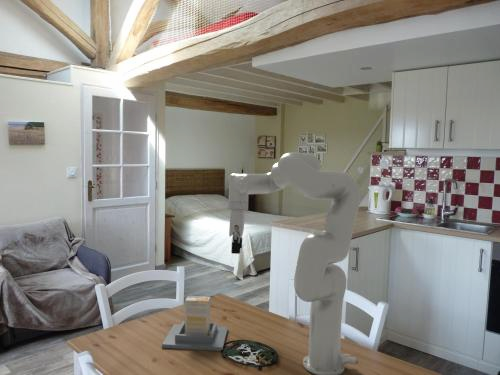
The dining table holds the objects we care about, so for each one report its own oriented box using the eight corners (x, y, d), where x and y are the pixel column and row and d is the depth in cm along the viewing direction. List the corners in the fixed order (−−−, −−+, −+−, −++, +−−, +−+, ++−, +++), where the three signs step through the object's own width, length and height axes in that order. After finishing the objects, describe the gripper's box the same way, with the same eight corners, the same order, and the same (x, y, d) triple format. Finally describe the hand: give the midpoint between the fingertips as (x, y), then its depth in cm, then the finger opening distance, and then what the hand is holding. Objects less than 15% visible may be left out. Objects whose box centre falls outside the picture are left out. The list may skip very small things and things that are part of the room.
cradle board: (227, 329, 148) (227, 320, 148) (222, 351, 131) (222, 340, 131) (174, 327, 149) (174, 317, 149) (161, 347, 132) (162, 337, 132)
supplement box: (210, 332, 142) (211, 296, 141) (207, 338, 137) (208, 301, 137) (187, 331, 143) (187, 295, 142) (184, 337, 138) (184, 299, 137)
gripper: (230, 203, 161) (229, 245, 162) (225, 208, 144) (224, 255, 144) (249, 204, 160) (247, 246, 161) (246, 208, 143) (245, 256, 144)
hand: (236, 250), depth 153 cm, fingers open, 9 cm apart
